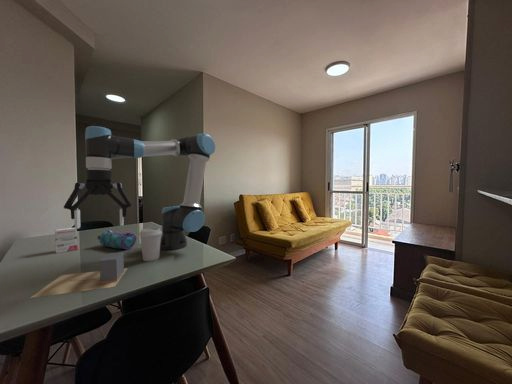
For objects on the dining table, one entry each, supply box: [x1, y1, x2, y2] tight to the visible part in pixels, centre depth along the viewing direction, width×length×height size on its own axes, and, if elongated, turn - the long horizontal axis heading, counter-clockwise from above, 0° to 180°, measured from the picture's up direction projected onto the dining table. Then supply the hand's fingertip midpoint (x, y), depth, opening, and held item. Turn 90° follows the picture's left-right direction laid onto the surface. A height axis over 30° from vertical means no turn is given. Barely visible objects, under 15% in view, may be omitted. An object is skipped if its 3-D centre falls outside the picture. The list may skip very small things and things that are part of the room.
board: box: [30, 267, 129, 299], centre depth 73 cm, size 22×16×2 cm
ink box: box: [54, 227, 78, 254], centre depth 109 cm, size 8×5×12 cm, turn 133°
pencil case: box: [97, 229, 137, 250], centre depth 115 cm, size 21×9×10 cm, turn 69°
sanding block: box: [99, 251, 125, 284], centre depth 75 cm, size 8×5×8 cm, turn 18°
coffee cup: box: [138, 227, 162, 262], centre depth 94 cm, size 10×10×15 cm
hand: (100, 226), depth 76 cm, fingers open, 13 cm apart
